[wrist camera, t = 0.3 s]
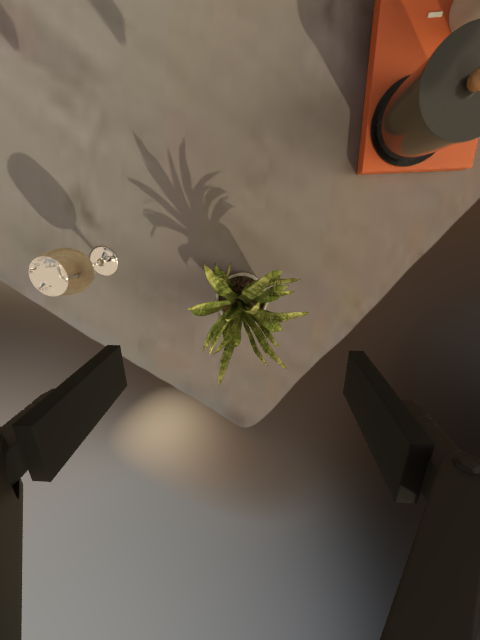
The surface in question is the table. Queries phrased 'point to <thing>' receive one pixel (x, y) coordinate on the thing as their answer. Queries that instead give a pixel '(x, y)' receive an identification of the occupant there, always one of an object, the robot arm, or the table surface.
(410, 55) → the hot plate
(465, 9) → the hob knob
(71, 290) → the wineglass
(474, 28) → the enamel pot
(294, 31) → the table surface
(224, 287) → the house plant
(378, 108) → the burner
